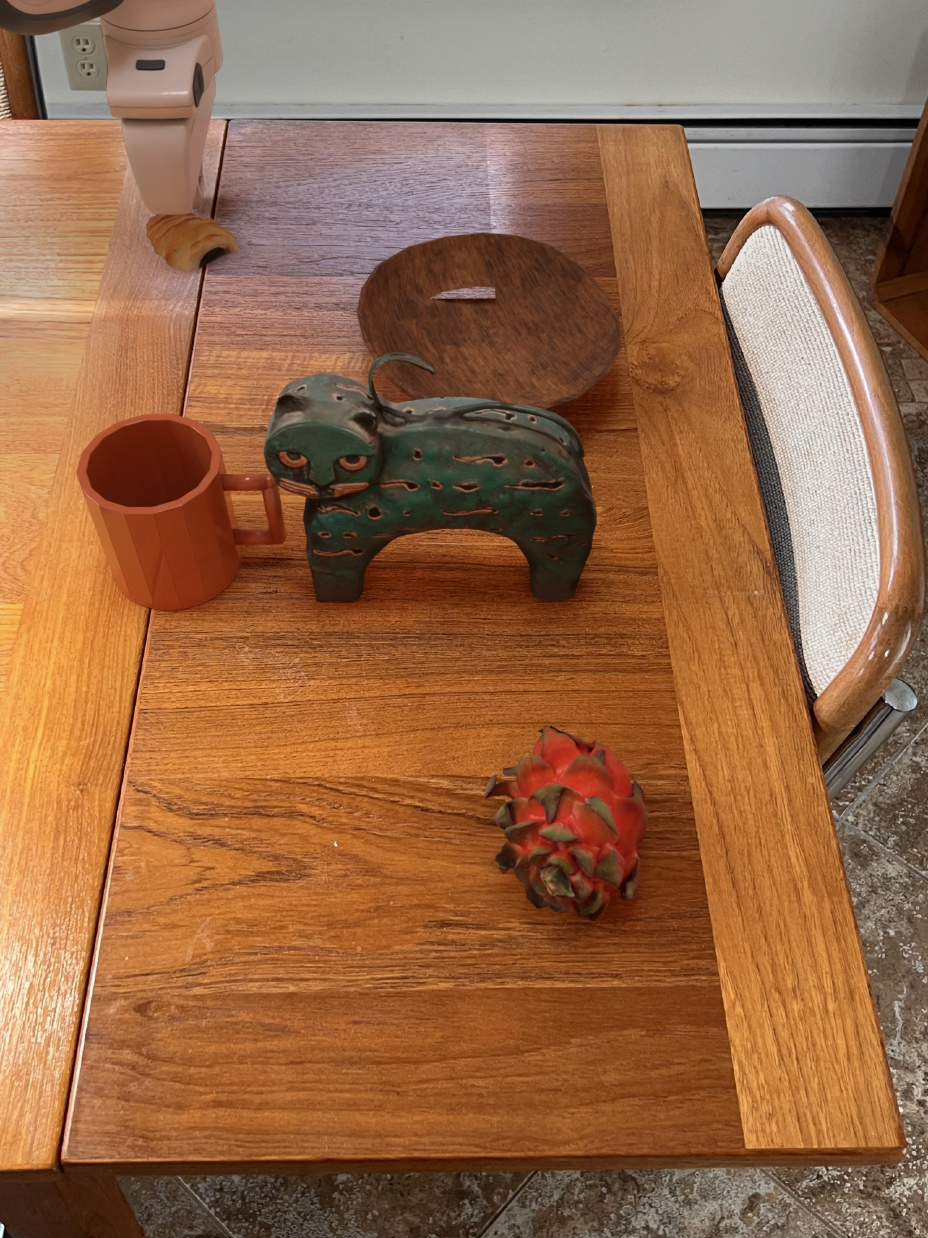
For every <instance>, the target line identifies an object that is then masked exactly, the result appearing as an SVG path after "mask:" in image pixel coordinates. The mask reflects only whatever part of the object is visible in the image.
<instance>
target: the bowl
mask: <svg viewBox="0 0 928 1238" xmlns="http://www.w3.org/2000/svg"><path fill="white" fill-rule="evenodd" d="M471 288H490V289H494V292H495V297H491V298H490V297H486V298H485V297H484V298H483V297H479V298H478V297H477V298H476V297H473V298H472V297H470V298H468V297H467V298H466V297H465V298H464V297H463V298H461V297H459V298H458V297H457V298H454V297H451V298H448V297H447V298H434V297H436V296H438V295H440V294H442V293H446V292H451V291H457V290H463V289H471ZM356 315H357V320H358V323H359V324H358V325H359V329H360V332H361V337H362V341H363V344H364V346H365V347H366V349H367V350H368V352H369V353H370V356H371V357H372V358H373V360H374V361H375V360H376V359H377V358H378V357H380V356H382V355H385V354H388V353H392V352H402V353H407V354H411V355H414V356H417V357H419V358H421V359H423V360H425V361H426V362H427V363H428V364H430V365H431V366H432V367H433V369H434V370H435V372H436V373H435V374H434V375H432V374H431V373H430V372H428V371H426V370H423V369H421V368H419V367H417V366H415V365H413V364H409V363H406V362H402V361H389V362H386V363H384V364H381V365H380V366H378V368H379V369H380V371H381V372H382V375H383V376H384V378H385V380H387V381H388V382H390V383H391V384H392V385H393V386H395V387H396V388H397V389H398V390H400V391H401V392H403V393H404V394H405V395H406V396H407V397H409V398H410V399H411V400H412V401H413V400H419V399H429V398H438V397H468V398H479V399H486V400H492V401H497V402H503V403H513V404H522V405H527V406H532V407H537V408H541V409H544V410H547V411H550V412H553V413H555V412H556V411H560V410H562V409H564V408H568V407H570V406H573V404H575V403H576V402H577V401H578V400H580V399H582V397H584V396H585V395H586V394H588V392H590V391H591V390H592V389H593V388H594V387H596V386H597V385H599V384H600V383H601V382H602V381H603V380H604V379H605V378H606V377H607V376H608V375H609V374H610V373H611V371H612V369H613V367H614V364H615V362H616V360H617V358H618V356H619V353H620V351H621V349H622V338H621V337H622V336H621V335H622V334H621V322H620V319H619V317H618V315H617V313H616V311H615V309H614V307H613V305H612V302H611V300H610V298H609V295H608V294H607V292H606V291H605V290H604V289H603V288H602V286H601V285H600V284H599V283H598V281H596V279H595V278H594V277H593V275H592V274H590V272H589V271H588V269H586V267H584V266H583V265H582V264H580V263H579V262H577V261H575V260H574V259H573V258H571V257H569V256H568V255H567V254H565V253H563V252H562V251H560V250H559V249H558V248H556V247H554V246H553V245H551V244H550V243H547V242H542V241H539V240H535V239H531V238H528V237H524V236H520V235H518V234H507V233H495V232H475V233H465V234H455V235H447V236H442V237H438V238H435V239H431V240H430V239H429V240H427V241H422V242H420V243H419V242H418V243H416V244H411V245H409V246H407V247H405V248H403V249H401V250H400V251H398V252H397V253H395V254H393V255H392V256H390V257H388V258H386V259H384V260H383V261H381V262H379V263H378V264H376V265H375V266H374V268H373V269H372V271H371V273H370V274H369V275H368V277H367V278H366V280H365V282H364V283H363V285H362V287H361V288H360V294H359V299H358V304H357V309H356Z"/></svg>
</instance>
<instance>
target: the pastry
mask: <svg viewBox="0 0 928 1238" xmlns="http://www.w3.org/2000/svg"><path fill="white" fill-rule="evenodd" d="M145 226H146V227H145V228H146V238H147V239H148V240H149V243H150V245H151V247H153V250H154V253H155V255H157V256H159V257H161V258H162V259H164V260H165V262H166V264H167V265H168V266H169V267H170V268H172V269H176V270H178V271H181V272H182V273H186V274H192V273H195V272H197V271H199V270H200V269H202V268H203V267H205V266H207V265H209V264H210V263H212V262H213V261H215V260H216V259H217V258H219V257H220V256H221V254H222V253H227V254H232V253H237V252H238V251H239V250H240V249H241V248H242V247H241V245H240V244H239V243H238V242H237V240H236V238H235V237H234V236H233V234H232V233H231V232H230V230H227V229H226V228H224V227H223V226H222V225H219V224H218V222H216V221H215V219H213V218H212V217H201V216H198V215H196V214H195V213H193V212H190V213H189V214H184V215H156V214H154V215H152V216H150V217H149V219H148V221H147V222H146V224H145Z"/></svg>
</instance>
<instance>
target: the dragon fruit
mask: <svg viewBox="0 0 928 1238" xmlns="http://www.w3.org/2000/svg"><path fill="white" fill-rule="evenodd" d="M524 732H525V734H526V733H528V732H531V729H529V730H528V731H523V733H524ZM537 732H538V733H541V735H540V737H538V739H537V741H536V742H535V744H534V747H533V750H532V756H528V757H524V758H521V759H519V760H518V762H517V765H515V766H512V767H511V766H510V767H503V768H502V774H503V775H504V776H506V777H513V776H514V775H515V781H512V780H502V781H500V782H497V774H492V775H491V777H490V778H489V780H488V782H487V784H486V786H485V791H484V795H483V800H486V799H488V798H493V797H502V796H503V797H507V798H510V800H508V801H506V802H504V803H503V804H502V806H500V808H499V809H498V811H497V812H496V813H495V815H494V818H493V820H494V823H495V824H496V826H497V827H498V828H499V829H502V830H503V831H504V832H503V833H504V834H503V835H504V837H505V838H506V841H505V842H504V843H503V845H502V846H501V847H500V850H499V851H498V852H497V853H496V855H495V858H494V862H495V863H496V865H497V868H498V870H499V871H500V872H501V873H502V875H505V874H506V873H507V872H508V871H509V870H513V873H514V875H515V877H516V878H517V880H519V882H520V883H522V885H523V889H524V892H525V898H526V900H527V902H528V903H530V904H531V905H532V906H533V907H534V908H536V909H538V910H540V909H545V908H547V907H549V908H550V910H551V911H552V912H554V913H559V914H567V913H568V914H569V913H570V914H571V913H572V912H574V911H575V913H576V916H577V919H580V920H582V921H586V922H587V921H591V922H597V921H598V919H599V918H600V917H601V915H602V914H603V912H604V911H605V910H606V909H607V907H608V906H609V905H610V902H611V898H612V897H611V895H612V892H613V891H615V890H616V891H619V897H620V899H621V900H624V901H626V900H628V901H633V900H635V898H636V896H637V892H638V891H639V884H640V878H641V869H642V868H641V867H642V866H641V865H642V862H641V858H640V857H639V851H638V850H639V849H638V848H639V846H640V843H642V841H643V840H644V839H645V836H646V835H645V834H646V832H647V828H648V821H649V816H648V810H647V807H646V799H647V798H646V794H645V790H644V788H643V787H642V786H641V785H640V784H639V783H638V782H637V780H635V779H634V780H633V783H631V780H630V771H629V769H628V767H627V766H626V765H625V764H624V763H623V762H622V760H621V759H620V758H619V755H617V754H616V753H615V752H614V751H613V750H612V749H611V747H609V746H608V745H605V744H603V743H600V742H598V741H596V740H592V742H589V741H587V740H584V739H583V738H579V737H577V736H575V735H573V734H570V733H569V732H565V731H562V730H559V729H558V728H556V727H555V726H552V725H544V727H542V728H541V729H538V730H537ZM522 736H523V735H522Z"/></svg>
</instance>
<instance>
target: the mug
mask: <svg viewBox="0 0 928 1238" xmlns="http://www.w3.org/2000/svg"><path fill="white" fill-rule="evenodd" d="M76 477H77V479H78V483H79V486H80V489H81V493H82V495H83V498H84V500H85V503H86V506H87V508H88V511H89V514H90V517H91V519H92V522H93V525H94V527H95V531H96V533H97V536H98V539H99V541H100V544H101V548H102V550H103V553H104V555H105V558H106V561H107V564H108V566H109V568H110V572H111V574H112V577H113V580H114V582H115V584H116V587H118V589H119V590H120V592H121V593H122V594H123V595H124V596H126V597H127V599H129V600H130V601H132V602H133V603H136V604H138V605H139V606H142V607H145V608H148V609H152V610H158V611H159V610H160V611H180V610H184V609H189V608H194V607H196V606H199V605H202V604H205V603H207V602H208V601H210V600H212V599H214V598H216V597H217V596H218V595H220V594H221V593H222V592H223V591H225V590H226V589H227V588H228V586H230V585H231V583H232V582H233V581H234V579H236V576H237V574H238V573H239V570H240V568H241V566H242V565H241V564H242V558H243V550H242V546H270V545H271V546H277V545H278V546H279V545H280V546H281V545H283V544H284V543H285V542H286V541H287V537H288V535H287V529H286V523H285V522H286V521H285V517H284V511H283V505H282V500H281V493H280V487H279V486H278V485H277V484H276V482H275V480H274V478H273V476H272V475H271V473H270V472H269V473H268V472H267V473H227V470H226V466H225V460H224V456H223V451H222V449H221V447H220V445H219V442H218V440H217V438H216V435H215V434H214V433H213V432H212V431H211V430H210V429H208V428H207V427H206V426H204V425H203V424H202V423H200V422H199V421H197V420H195V419H192V418H188V417H185V416H182V415H179V414H174V413H144V414H141V415H138V416H133V417H129V418H126V419H121V420H119V421H117V422H115V423H114V424H112V425H110V426H109V427H107V428H105V429H103V430H102V431H100V432H99V433H97V434H96V435H95V436H94V437H93V438H92V440H91V441H89V443H88V444H87V446H86V447H85V448H83V450H82V451H81V453H80V457H79V461H78V464H77V469H76ZM232 492H261V495H262V499H263V505H264V511H265V517H266V522H267V528H265V527H264V528H263V527H262V528H257V527H256V528H239V526H238V521H237V517H236V512H235V507H234V501H233V498H232Z"/></svg>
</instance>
